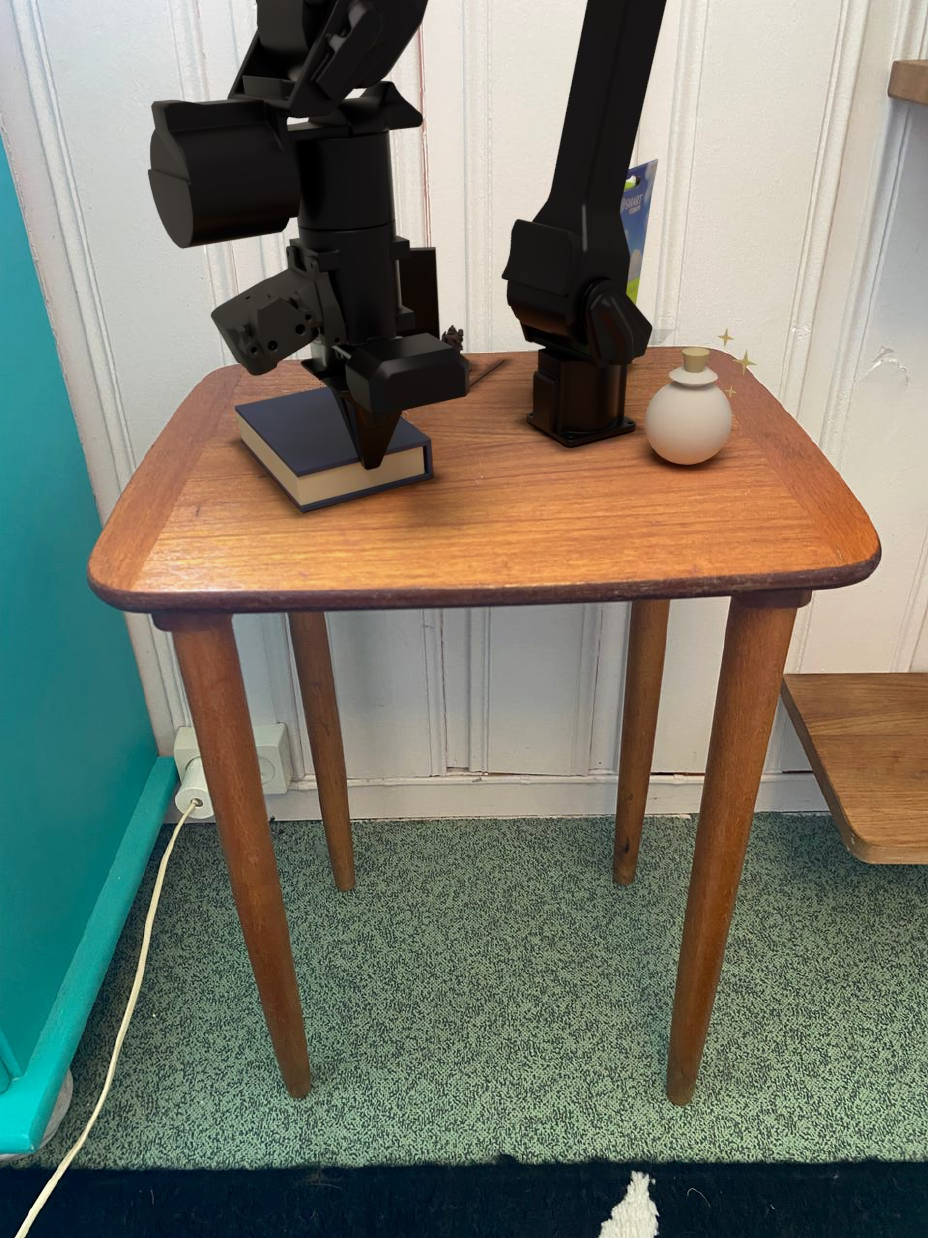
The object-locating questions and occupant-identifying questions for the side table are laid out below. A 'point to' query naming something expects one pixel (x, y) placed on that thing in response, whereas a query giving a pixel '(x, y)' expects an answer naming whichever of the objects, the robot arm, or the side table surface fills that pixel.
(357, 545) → the side table surface
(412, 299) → the bookend
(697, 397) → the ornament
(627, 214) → the box
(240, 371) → the side table surface
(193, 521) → the side table surface
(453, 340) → the figurine
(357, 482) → the book
